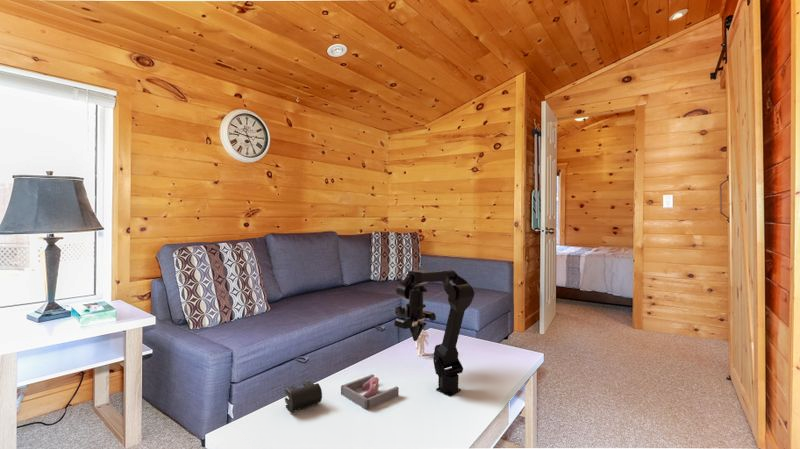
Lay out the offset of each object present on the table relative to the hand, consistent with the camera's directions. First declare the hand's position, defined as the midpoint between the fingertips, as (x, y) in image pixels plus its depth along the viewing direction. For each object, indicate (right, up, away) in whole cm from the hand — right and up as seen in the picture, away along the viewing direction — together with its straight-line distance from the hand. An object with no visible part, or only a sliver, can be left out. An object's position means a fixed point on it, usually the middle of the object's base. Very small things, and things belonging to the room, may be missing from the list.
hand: (415, 340), depth 152 cm
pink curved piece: (-16, -13, -21) cm, 29 cm away
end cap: (-37, -13, -29) cm, 49 cm away
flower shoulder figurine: (+3, -12, +18) cm, 22 cm away
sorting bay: (-16, -13, -20) cm, 29 cm away
